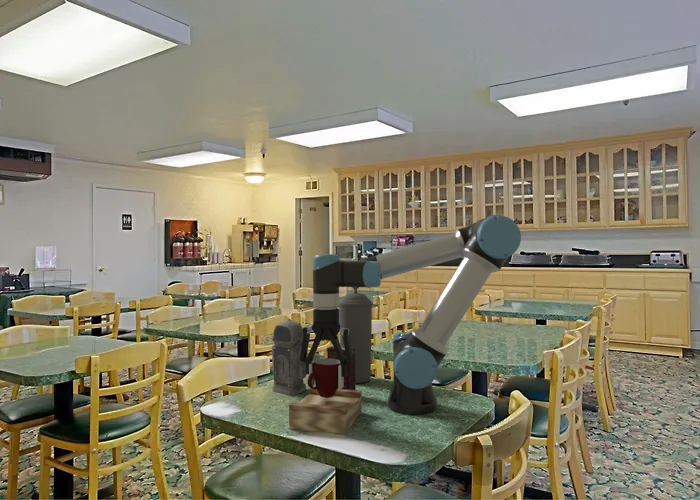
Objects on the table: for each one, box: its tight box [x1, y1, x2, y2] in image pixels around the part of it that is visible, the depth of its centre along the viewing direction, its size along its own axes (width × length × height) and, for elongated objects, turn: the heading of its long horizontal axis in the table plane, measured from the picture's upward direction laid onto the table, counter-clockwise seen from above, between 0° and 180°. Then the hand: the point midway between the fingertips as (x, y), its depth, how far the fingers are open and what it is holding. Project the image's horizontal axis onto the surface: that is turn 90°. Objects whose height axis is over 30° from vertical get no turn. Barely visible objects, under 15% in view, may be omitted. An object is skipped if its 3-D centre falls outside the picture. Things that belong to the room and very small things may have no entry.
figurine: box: [271, 318, 308, 396], centre depth 176 cm, size 10×14×25 cm
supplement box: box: [326, 345, 357, 390], centre depth 170 cm, size 9×5×16 cm, turn 60°
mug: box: [306, 357, 341, 398], centre depth 145 cm, size 10×8×10 cm
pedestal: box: [288, 387, 363, 435], centre depth 145 cm, size 16×18×6 cm
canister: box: [338, 287, 373, 384], centre depth 188 cm, size 13×13×35 cm
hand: (326, 386), depth 145 cm, fingers closed on mug, 8 cm apart
